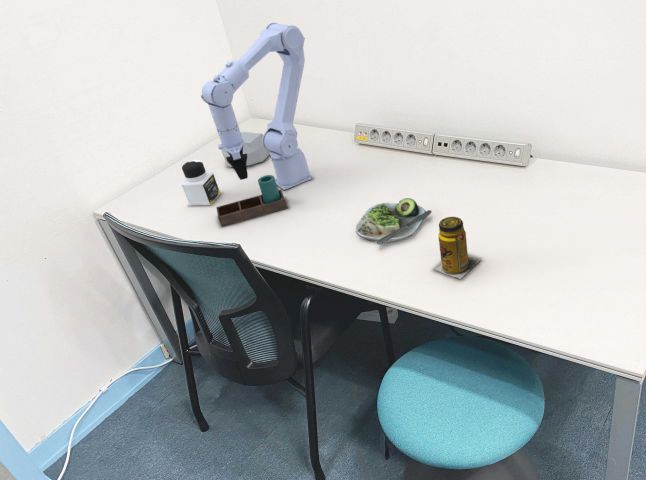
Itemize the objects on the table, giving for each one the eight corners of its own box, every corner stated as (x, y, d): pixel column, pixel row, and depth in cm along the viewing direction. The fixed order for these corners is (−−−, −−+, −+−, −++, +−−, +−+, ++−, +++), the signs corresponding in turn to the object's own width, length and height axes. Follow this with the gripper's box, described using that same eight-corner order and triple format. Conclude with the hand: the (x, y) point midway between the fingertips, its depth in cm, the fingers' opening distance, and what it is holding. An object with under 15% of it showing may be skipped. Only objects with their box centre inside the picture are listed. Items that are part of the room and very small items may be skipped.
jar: (277, 198, 175) (270, 173, 170) (284, 204, 172) (276, 178, 167) (263, 204, 173) (255, 179, 168) (269, 210, 170) (261, 184, 165)
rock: (228, 151, 209) (219, 124, 203) (285, 141, 209) (278, 114, 203) (222, 174, 194) (212, 146, 188) (283, 163, 195) (275, 135, 189)
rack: (283, 198, 176) (281, 189, 174) (287, 208, 171) (284, 199, 169) (219, 216, 173) (216, 207, 171) (221, 226, 168) (218, 217, 166)
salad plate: (410, 253, 145) (408, 237, 142) (344, 246, 151) (340, 230, 148) (436, 211, 158) (434, 195, 156) (374, 206, 165) (371, 191, 162)
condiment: (434, 270, 138) (428, 225, 131) (455, 251, 143) (451, 207, 135) (460, 279, 134) (456, 234, 127) (481, 260, 139) (478, 215, 131)
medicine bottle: (210, 205, 179) (196, 168, 171) (189, 206, 180) (174, 169, 173) (220, 193, 184) (207, 157, 177) (199, 194, 186) (185, 158, 178)
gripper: (210, 121, 167) (226, 166, 176) (214, 140, 156) (230, 187, 165) (235, 115, 169) (249, 160, 177) (241, 133, 157) (256, 180, 166)
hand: (242, 173), depth 171 cm, fingers open, 7 cm apart
